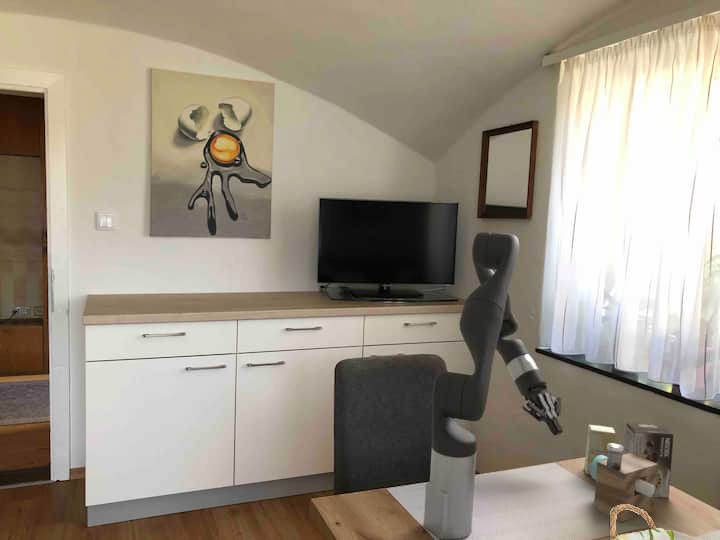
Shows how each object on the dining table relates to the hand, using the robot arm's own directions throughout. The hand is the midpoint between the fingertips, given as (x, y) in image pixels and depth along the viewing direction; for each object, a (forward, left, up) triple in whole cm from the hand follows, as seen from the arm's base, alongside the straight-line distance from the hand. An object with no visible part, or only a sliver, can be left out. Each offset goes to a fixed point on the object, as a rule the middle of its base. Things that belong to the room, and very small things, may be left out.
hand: (558, 433), depth 149 cm
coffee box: (+14, -16, -12) cm, 24 cm away
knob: (+1, -19, -7) cm, 20 cm away
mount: (+1, -19, -11) cm, 22 cm away
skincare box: (+12, -4, -12) cm, 17 cm away
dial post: (-4, -19, 0) cm, 20 cm away
